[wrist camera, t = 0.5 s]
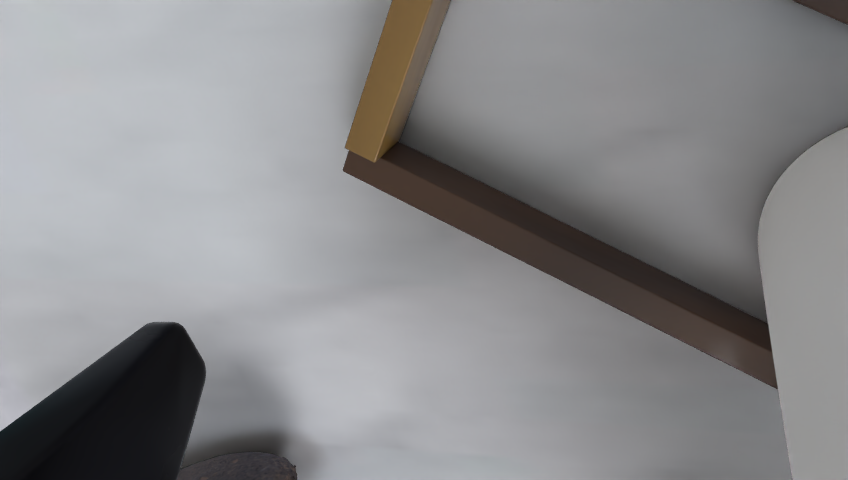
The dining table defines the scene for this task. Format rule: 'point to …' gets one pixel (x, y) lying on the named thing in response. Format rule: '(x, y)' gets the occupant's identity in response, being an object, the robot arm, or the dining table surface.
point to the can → (810, 305)
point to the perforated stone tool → (241, 468)
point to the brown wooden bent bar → (523, 225)
